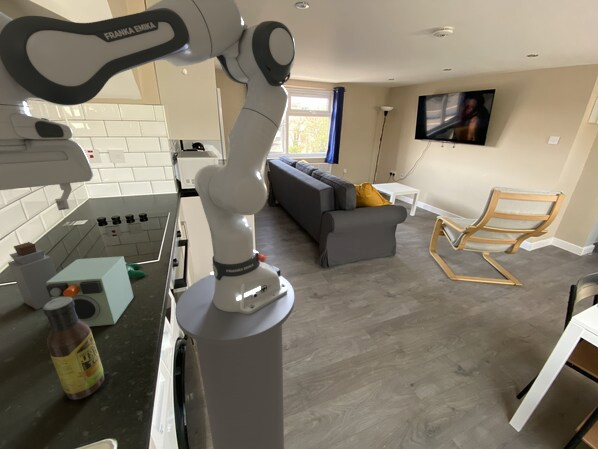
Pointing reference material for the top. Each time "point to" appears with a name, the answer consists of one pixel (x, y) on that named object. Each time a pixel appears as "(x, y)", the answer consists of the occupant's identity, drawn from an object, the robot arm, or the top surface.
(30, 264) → the perfume bottle
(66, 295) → the button
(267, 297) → the robot arm
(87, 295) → the washer
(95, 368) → the sauce bottle
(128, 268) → the gaming controller
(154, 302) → the top surface
